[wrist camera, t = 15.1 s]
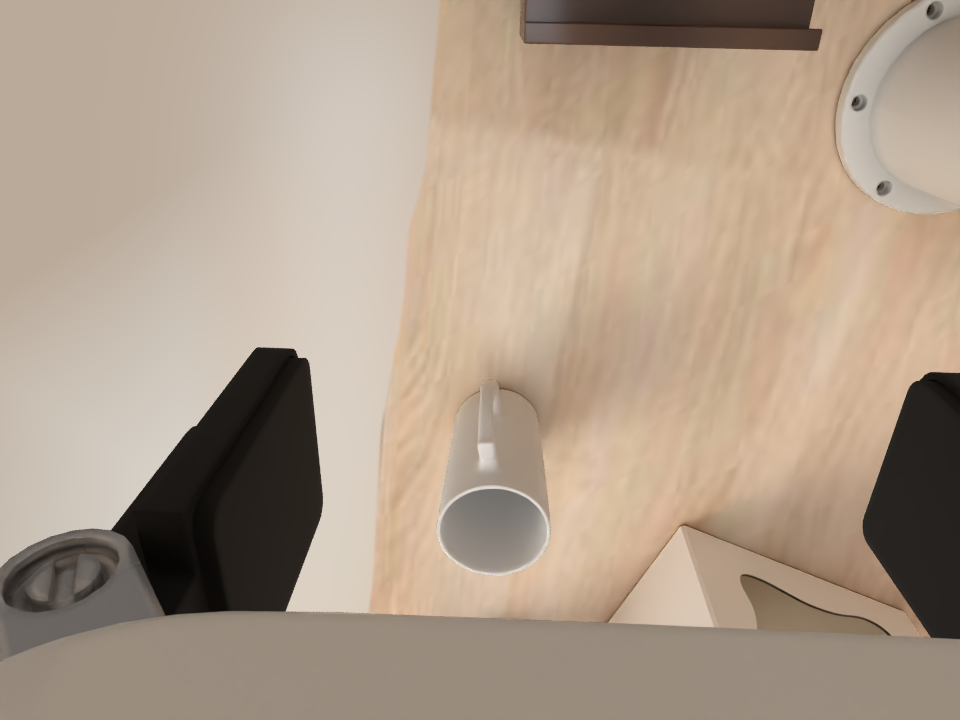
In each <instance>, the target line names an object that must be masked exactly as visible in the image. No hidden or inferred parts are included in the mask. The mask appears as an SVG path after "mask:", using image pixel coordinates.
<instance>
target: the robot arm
mask: <svg viewBox="0 0 960 720" xmlns="http://www.w3.org/2000/svg"><path fill="white" fill-rule="evenodd" d="M928 7H930V12H929V13H928V14H927V9H928ZM926 14H927V15H926ZM855 97H856V103H855V104H854V105H852V106H851V102H852V101H853V99H854V98H855ZM835 133H836V144H837V150H838V153H839V156H840V159H841V162H842V166H843V167H844V169H845V171H846V172H847V174H848V176H849V177H850V179H851V181H852V182H853V183H854V184H855V185H856V186H857V187H858V188H859V189H860V190H861V191H862V192H863V193H864V194H865V195H867V196H869V197H870V198H872V199H873V200H875V201H877V202H878V203H880V204H882V205H885V206H887V207H889V208H891V209H893V210H898V211H902V212H906V213H911V214H938V213H945V212H952V211H955V210H959V209H960V0H916V1H914V2H912V3H910V4H909V5H907V6H905V7H904V8H903V9H902V10H900V11H899V12H898V13H897V14H896V15H894V16H893V17H892V18H891V19H889V20H888V21H887V22H886V23H885V24H884V25H883V26H882V27H881V28H880V29H879V30H878V31H877V32H876V33H875V35H874V36H873V37H872V38H871V39H870V40H869V41H868V42H867V44H866V45H865V47H864V48H863V50H862V51H861V53H860V54H859V56H858V57H857V59H856V60H855V62H854V63H853V65H852V68H851V70H850V72H849V74H848V76H847V78H846V80H845V82H844V84H843V88H842V91H841V95H840V98H839V102H838V105H837V113H836V123H835ZM880 183H881V185H880V187H879V188H878V189H877V187H878V185H879V184H880ZM322 506H323V494H322V484H321V474H320V465H319V455H318V444H317V434H316V425H315V415H314V405H313V395H312V385H311V375H310V366H309V362H308V360H307V359H306V358H298V356H297V353H296V351H295V350H294V349H286V348H259V347H258V348H256V349H255V350H254V351H253V352H252V354H251V355H250V356H249V358H248V359H247V360H246V361H245V363H244V364H243V366H242V367H241V368H240V369H239V371H238V372H237V373H236V375H235V376H234V377H233V378H232V380H231V381H230V382H229V384H228V385H227V386H226V388H225V389H224V390H223V392H222V393H221V394H220V396H219V397H218V398H217V400H216V401H215V402H214V403H213V405H212V406H211V407H210V409H209V410H208V411H207V413H206V414H205V416H204V417H203V418H202V419H201V420H200V422H199V423H198V424H197V426H194V427H192V428H191V429H190V430H189V431H188V432H187V433H186V434H185V435H184V437H183V438H182V439H181V440H180V442H179V443H178V444H177V446H176V447H175V449H174V450H173V451H172V452H171V453H170V455H169V456H168V457H167V459H166V460H165V461H164V463H163V464H162V465H161V467H160V468H159V469H158V470H157V472H156V473H155V474H154V476H153V477H152V478H151V479H150V481H149V482H148V483H147V484H146V486H145V487H144V488H143V490H142V491H141V492H140V493H139V495H138V496H137V498H136V499H135V500H134V501H133V503H132V504H131V505H130V506H129V508H128V509H127V510H126V512H125V513H124V514H123V516H122V517H121V518H120V520H119V521H118V522H117V523H116V525H115V526H114V527H113V528H112V530H102V529H85V530H75V531H70V532H66V533H63V534H59V535H55V536H51V537H49V538H47V539H44V540H42V541H40V542H38V543H35V544H33V545H31V546H29V547H27V548H26V549H24V550H23V551H21V552H20V553H18V554H16V555H15V556H13V557H12V558H10V559H9V560H8V561H7V562H6V563H5V564H4V565H3V566H2V567H1V568H0V720H960V373H940V372H930V373H928V374H926V375H924V377H923V378H922V379H921V380H920V381H916V382H914V383H913V384H912V385H911V386H910V388H909V390H908V392H907V395H906V398H905V400H904V403H903V406H902V409H901V412H900V415H899V418H898V421H897V423H896V426H895V429H894V432H893V435H892V438H891V441H890V444H889V446H888V449H887V452H886V455H885V458H884V461H883V464H882V467H881V469H880V472H879V475H878V478H877V481H876V484H875V487H874V490H873V492H872V495H871V498H870V501H869V504H868V507H867V510H866V513H865V515H864V519H863V534H864V537H865V540H866V542H867V544H868V545H869V547H870V548H871V550H872V551H873V553H874V554H875V556H876V557H877V559H878V560H879V562H880V563H881V564H882V566H883V567H884V569H885V570H886V572H887V573H888V575H889V576H890V578H891V579H892V581H893V582H894V584H895V585H896V587H897V588H898V590H899V591H900V592H901V594H902V595H903V597H904V598H905V600H906V601H907V603H908V604H909V606H910V607H911V609H912V610H913V612H914V613H915V615H916V616H917V618H918V619H919V620H920V622H921V623H922V625H923V626H924V628H925V629H926V631H927V632H928V634H929V635H930V637H931V638H926V637H906V636H887V635H868V634H848V633H827V632H805V631H784V630H763V629H740V628H717V627H694V626H671V625H648V624H626V623H601V622H576V621H551V620H524V619H498V618H472V617H445V616H419V615H393V614H369V613H344V612H285V611H286V609H287V606H288V603H289V601H290V598H291V595H292V593H293V590H294V587H295V585H296V582H297V579H298V577H299V574H300V571H301V569H302V566H303V563H304V560H305V558H306V555H307V553H308V550H309V547H310V545H311V542H312V539H313V537H314V534H315V531H316V528H317V526H318V523H319V521H320V517H321V513H322Z"/></svg>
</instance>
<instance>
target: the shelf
mask: <svg viewBox="0 0 960 720" xmlns="http://www.w3.org/2000/svg"><path fill="white" fill-rule="evenodd" d="M814 2H815V0H521V17H520V36H521V38H522V40H523V42H524V43H528V44H568V45H607V46H646V47H686V48H725V49H765V50H804V51H817V50H818V48H819V43H820V39H821V34H822V29H809V25H810V21H811V16H812V11H813V7H814Z"/></svg>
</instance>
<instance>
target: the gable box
mask: <svg viewBox="0 0 960 720" xmlns="http://www.w3.org/2000/svg"><path fill="white" fill-rule="evenodd" d="M608 623H626V624H648V625H671V626H694V627H717V628H740V629H763V630H784V631H805V632H827V633H848V634H868V635H887V636H906V637H920V635H919V634H918V632H917V630H916V629H915V627H914V626H913V624H912V623H911V621H910V620H909V618H908V617H907V615H906V614H905V612H903V611H901V610H898V609H896V608H893V607H890V606H888V605H885V604H883V603H880V602H878V601H875V600H873V599H870V598H868V597H865V596H863V595H860V594H857V593H855V592H852V591H850V590H847V589H845V588H842V587H840V586H837V585H835V584H832V583H830V582H827V581H825V580H822V579H819V578H817V577H814V576H812V575H809V574H807V573H804V572H802V571H799V570H797V569H794V568H792V567H789V566H786V565H784V564H781V563H779V562H776V561H774V560H771V559H769V558H766V557H764V556H761V555H759V554H756V553H753V552H751V551H748V550H746V549H743V548H741V547H738V546H736V545H733V544H731V543H728V542H726V541H723V540H721V539H718V538H715V537H713V536H710V535H708V534H705V533H703V532H700V531H698V530H695V529H693V528H690V527H688V526H685V525H682V526H680V527H679V529H678V530H677V531H676V533H675V534H674V535H673V537H672V538H671V539H670V541H669V542H668V543H667V545H666V546H665V547H664V549H663V550H662V551H661V553H660V554H659V555H658V557H657V558H656V559H655V561H654V562H653V563H652V565H651V566H650V567H649V569H648V570H647V571H646V573H645V574H644V575H643V577H642V578H641V579H640V581H639V582H638V583H637V585H636V586H635V587H634V589H633V590H632V591H631V593H630V594H629V595H628V597H627V598H626V599H625V601H624V602H623V603H622V605H621V606H620V607H619V609H618V610H617V611H616V612H615V614H614V615H613V616H612V618H611V619H610V620H609V622H608Z"/></svg>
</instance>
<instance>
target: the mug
mask: <svg viewBox="0 0 960 720" xmlns="http://www.w3.org/2000/svg"><path fill="white" fill-rule="evenodd" d="M550 535H551V527H550V514H549V504H548V495H547V487H546V478H545V470H544V461H543V452H542V442H541V434H540V428H539V421H538V417H537V414H536V411H535V410H534V408H533V406H532V405H531V404H530V403H529V402H528V401H527V400H526V399H525V398H524V397H522V396H521V395H519V394H517V393H515V392H512V391H509V390H505V389H499V384H498V382H497V381H495V380H487V381H483V382H482V383H481V387H480V392H478V393H476V394H474V395H472V396H471V397H469V398H468V399H467V400H466V401H465V402H464V403H463V404H462V406H461V407H460V409H459V410H458V413H457V416H456V419H455V425H454V430H453V435H452V439H451V445H450V451H449V457H448V463H447V468H446V474H445V479H444V485H443V490H442V496H441V502H440V508H439V518H438V522H437V536H438V540H439V543H440V545H441V547H442V549H443V550H444V552H445V553H446V554H447V555H448V557H449V558H450V559H452V560H453V561H454V562H455V563H457V564H458V565H460V566H461V567H463V568H465V569H467V570H470V571H472V572H475V573H479V574H484V575H507V574H511V573H515V572H518V571H521V570H523V569H525V568H527V567H529V566H530V565H532V564H533V563H534V562H536V561H537V560H538V559H539V558H540V557H541V556H542V554H543V553H544V552H545V550H546V548H547V546H548V544H549V540H550Z"/></svg>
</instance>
